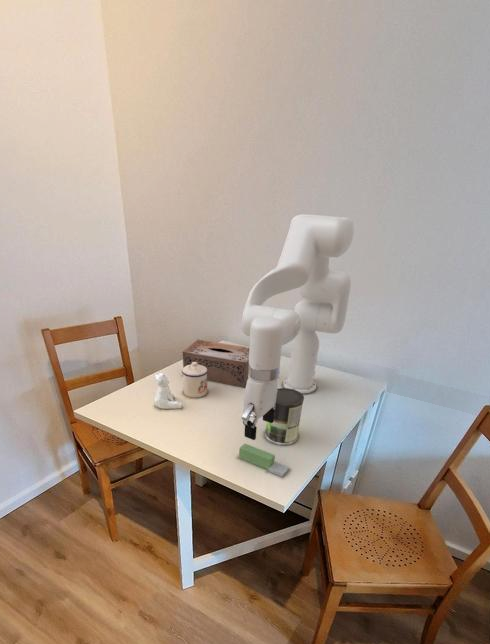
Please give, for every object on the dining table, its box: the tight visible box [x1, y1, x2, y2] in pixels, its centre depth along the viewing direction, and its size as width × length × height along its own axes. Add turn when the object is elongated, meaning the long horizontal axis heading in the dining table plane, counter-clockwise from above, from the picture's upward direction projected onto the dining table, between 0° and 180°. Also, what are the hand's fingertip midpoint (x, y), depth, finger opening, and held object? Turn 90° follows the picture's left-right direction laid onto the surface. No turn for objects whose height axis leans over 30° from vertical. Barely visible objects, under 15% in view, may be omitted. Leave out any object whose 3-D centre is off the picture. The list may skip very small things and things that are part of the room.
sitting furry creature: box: [153, 372, 182, 410], centre depth 131 cm, size 10×9×12 cm
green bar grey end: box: [238, 443, 290, 478], centre depth 108 cm, size 14×4×4 cm, turn 57°
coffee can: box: [264, 387, 305, 446], centre depth 117 cm, size 10×10×14 cm
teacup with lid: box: [181, 362, 208, 398], centre depth 140 cm, size 12×9×12 cm
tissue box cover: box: [182, 339, 249, 388], centre depth 152 cm, size 26×14×10 cm, turn 70°
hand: (259, 429), depth 104 cm, fingers open, 9 cm apart
